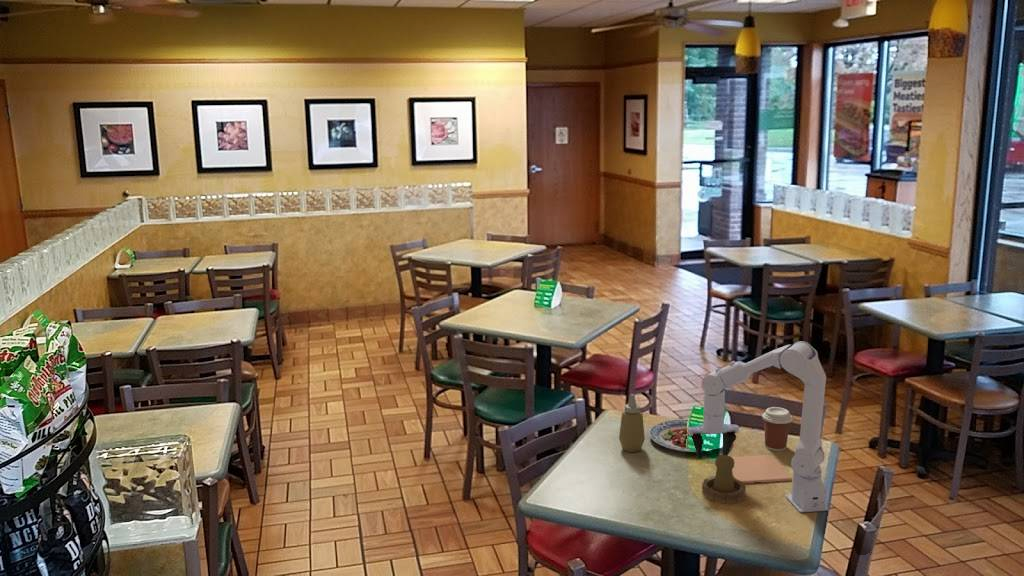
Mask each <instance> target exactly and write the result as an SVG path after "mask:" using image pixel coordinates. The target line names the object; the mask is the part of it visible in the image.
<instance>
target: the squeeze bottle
mask: <svg viewBox="0 0 1024 576" xmlns="http://www.w3.org/2000/svg"><path fill="white" fill-rule="evenodd" d="M628 400H629V401H628V403H627V404H625V405H624V410H623V411H622V413H621V419H620V425H619V426H620V427H619V434H618V435H619V437H618V438H619V439H618V440H619V441H620V442H619V443H620V446H621V448H622V449H623V450H624V451H626V452H630V453H636V452H639V451H641V450H642V449H643V448H642V447H643V445H644V443H645V426H644V416H643V414H644V413H642V411H640V409H641V407H640V405H639V404H638V403H637V402H636V397H635V394H632V393H631V394H630V395H629V399H628Z"/></svg>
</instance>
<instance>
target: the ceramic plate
mask: <svg viewBox="0 0 1024 576" xmlns="http://www.w3.org/2000/svg"><path fill="white" fill-rule="evenodd" d="M688 419H689V418H688ZM688 419H687V418H686V419H672V420H665V421H661V422H658V423H657V424H654V425H653V426H652V427H651V428H650V429H649V432H648V434H649V437H650V439H651V440H652V441H653V442H654V443H656V444H658V445H659V446H662V447H664V448H666V449H671V450H675V451H679V452H689V453H696V451H693V450H690V449H686V439H687V421H688Z"/></svg>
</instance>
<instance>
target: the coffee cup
mask: <svg viewBox="0 0 1024 576" xmlns="http://www.w3.org/2000/svg"><path fill="white" fill-rule="evenodd" d="M761 418H762V420H763V424H764V425H763V426H764V429H763V430H764V446H765V448H766V449H768V450H770V451H775V452H781V451H785V450H786V449H787V446H788V445H787V444H788V438H789V432H790V431H789V430H790V424H791V423H792V422H793V416H792V414H790V411H789V410H788V409H786V408H783V407H777V406H771V407H767V408H766V409H765V412H763V413H762V414H761Z"/></svg>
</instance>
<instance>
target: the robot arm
mask: <svg viewBox="0 0 1024 576" xmlns="http://www.w3.org/2000/svg"><path fill="white" fill-rule="evenodd" d="M769 367H775V368H777V369H784V370H785V371H786V372H788V373H789V374H791V375H793V376H795V377H797V378H798V379H800V381H801V382H803V384H804V389H803V399H802V401H803V402H802V410H801V421H800V429H799V431H800V432H799V439H798V441H797V442H798V443H797V445H796V448H795V454H794V456H793V457H792V459H791V461H790V467H791V469H792V480H791V482H792V484H791V493H788V494H787V493H786V494H784V495H785V497H786V499H787V500H788V501H789V502H790V503H791V504H792V506H794V508H795V509H796V510H797V512H799V513H809V512H825V511H826V512H827V511H829V508H828V506H826V500H827V487H826V485H825V484H824V481H823V480H822V468H821V464H822V463H823V462H824V460H825V458H826V456H825V452H824V451H825V450H824V449H823V441H822V440H821V431H822V423H823V422H822V421H823V414H824V413H823V411H824V402H825V401H824V400H825V393H826V384H827V382H826V381H827V375H826V372H825V370H824V368H823V366H822V364H821V362H820V359H819V353H818V351H817V350H816V349H815V348H814V347H813V346H812V345H811V344H810V343H808V342H807V341H801V340H800V341H799V340H798V341H796V342H795V343H793V344H790V343H789V344H786V345H784V346H782V347H781V346H780V347H779V348H775V349H773V350H771V351H769V352H766V353H763V354H762V355H760V356H759V357H756V358H754V359H752V360H750V361H747V362H743V361H742V360H741V361H740V360H738V361H735V360H733V361H730V362H729V363H728V365H727V366H724V367H722V368H721V367H718V368H716V369H715V370H713V371H711V372H710V373H708V374H707V375H706V376H704V377H703V379H702V381H701V387H702V388H701V389H702V390H703V392H704V396H703V417H702V418H703V420H702V421H703V424H702V425H698V426H694V427H688V432H687V433H688V435H689V436H691V437H692V439H693V442H694V445H695V448H696V452H695V453H696V457H697V459H698V460H702V458H703V457H702V456H703V452H702V444H703V439H702V436H701V434H719V433H722V434H723V448H722V455H728V456H729V453H730V450H731V448H732V446H733V444H734V442H735V441H736V439H737V435H736V434H739V433H740V431H739V430H740V426H738V424H728V423H725V406H726V405H725V404H726V403H725V402H726V400H725V399H726V389H730V388H733V387H735V386H737V385H739V384H742V383H744V382H746V381H749V379H750V376H751V374H754V373H757V372H760V371H761V370H764V369H767V368H769Z"/></svg>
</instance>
